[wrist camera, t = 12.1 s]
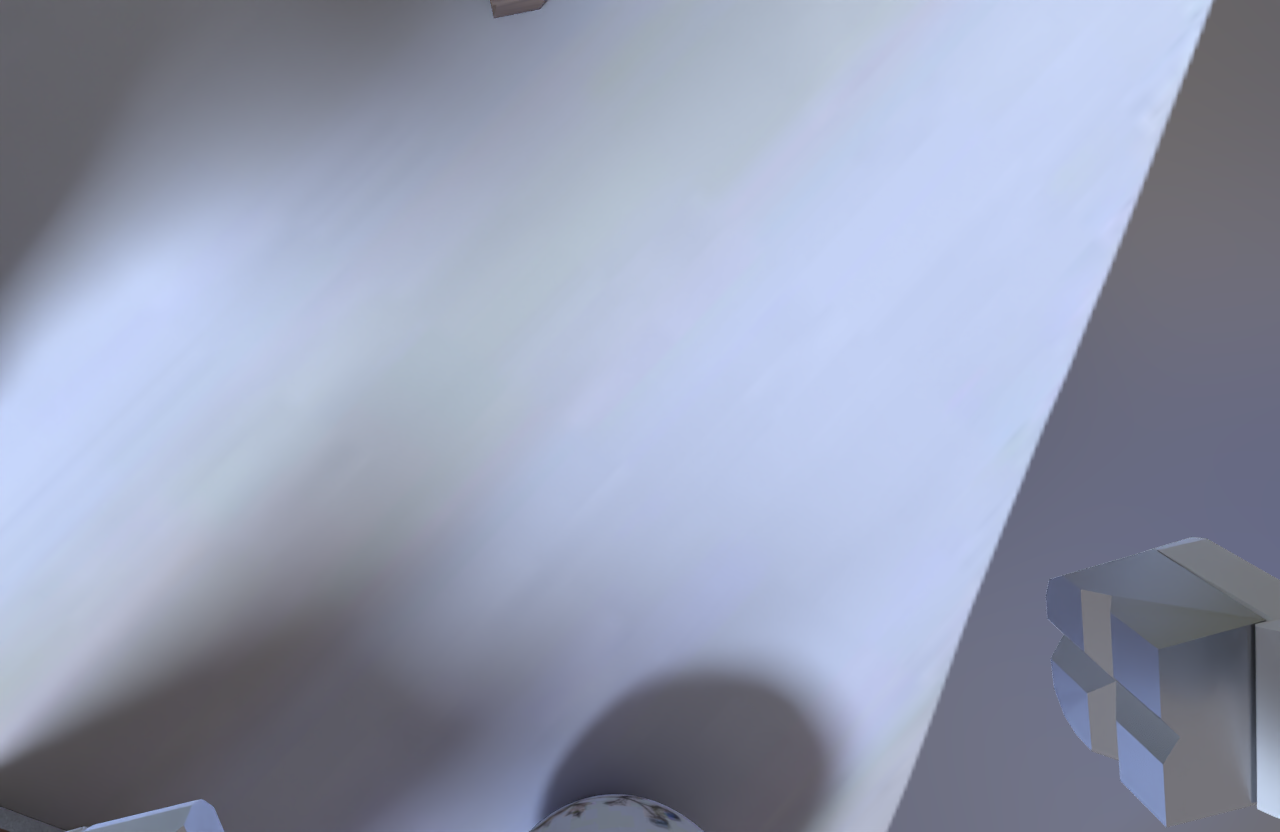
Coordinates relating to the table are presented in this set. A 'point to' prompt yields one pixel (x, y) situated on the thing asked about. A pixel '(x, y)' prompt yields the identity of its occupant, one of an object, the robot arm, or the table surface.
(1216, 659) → the robot arm
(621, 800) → the teacup
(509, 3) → the wooden stool
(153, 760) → the table surface
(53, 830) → the display case
